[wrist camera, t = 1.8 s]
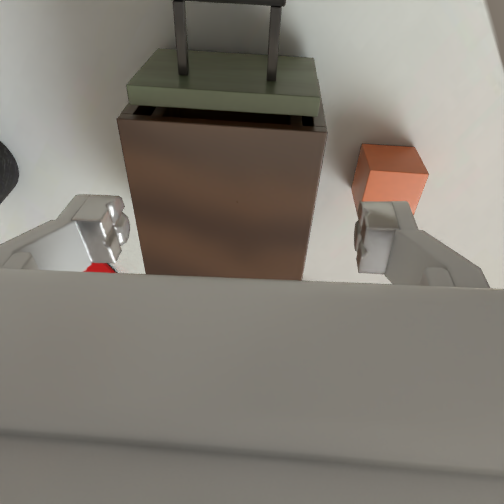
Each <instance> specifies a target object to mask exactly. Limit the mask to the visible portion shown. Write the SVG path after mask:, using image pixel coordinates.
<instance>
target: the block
mask: <svg viewBox="0 0 504 504" xmlns="http://www.w3.org/2000/svg"><path fill="white" fill-rule="evenodd" d="M428 175H429V173H428V171H427V169H426V167H425V166H424V164H423V162H422V160H421V158H420V156H419V154H418V152H417V150H416V148H415V147H404V146H389V145H374V144H362V146H361V150H360V154H359V158H358V163H357V167H356V171H355V175H354V179H353V184H352V188H351V189H352V194H353V198H354V202H355V207H356V211H358V206H359V202H360V201H407V202H408V203H409V205H410V208H411V211H412V214H413V215H414V213H415V210H416V207H417V205H418V202H419V199H420V197H421V194H422V191H423V189H424V186H425V183H426V181H427V178H428ZM357 216H358V213H357Z"/></svg>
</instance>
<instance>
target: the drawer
mask: <svg viewBox="0 0 504 504" xmlns="http://www.w3.org/2000/svg"><path fill="white" fill-rule="evenodd" d="M185 1H197V2H214V3H232V4H249V5H266V6H271V13H270V29H269V45H268V55H257V54H241V53H225V52H209V51H192V50H188V43H187V26H186V10H185ZM285 4H286V0H174V1H173V11H174V24H175V37H176V49H177V50H176V49H160V48H158V49H157V50H156V52H155V53H154V54H153V55H152V56H151V57H150V58H149V60H148V61H147V62H146V63H145V64H144V65H143V66H142V68H141V69H140V70H139V71H138V72H137V73H136V74H135V76H134V77H133V78H132V79H131V80H130V81H129V82H128V83H127V85H126V87H127V93H128V99H129V104H130V105H142V106H157V107H156V109H155V110H154V112H153V113H152V115H151V116H163V117H178V118H193V119H209V120H224V121H239V122H254V123H270V124H285V125H300V126H303V125H302V116H311V117H318V113H319V106H320V100H321V96H320V91H319V85H318V79H317V73H316V68H315V62H314V58H306V57H290V56H278V49H279V35H280V22H281V9H282V6H283V7H284V6H285Z"/></svg>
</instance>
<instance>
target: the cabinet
mask: <svg viewBox="0 0 504 504" xmlns="http://www.w3.org/2000/svg"><path fill="white" fill-rule="evenodd" d="M318 85H319V82H318ZM319 91H320V87H319ZM320 96H321V93H320ZM156 107H157V106H142V105H130V104H129V103H128V105H127V106H126V107H125V108H124V110H123V111H122V112H121V114H120V115H119V116H118V118H117V124H118V129H119V134H120V140H121V145H122V150H123V156H124V161H125V166H126V172H127V177H128V182H129V187H130V193H131V198H132V203H133V209H134V214H135V219H136V225H137V230H138V235H139V240H140V246H141V251H142V256H143V262H144V267H145V272H146V274H152V275H176V276H201V277H225V278H250V279H274V280H299V281H302V278H303V272H304V266H305V260H306V255H307V249H308V243H309V237H310V231H311V226H312V220H313V214H314V208H315V202H316V197H317V191H318V185H319V179H320V173H321V168H322V162H323V156H324V150H325V144H326V139H327V128H326V122H325V116H324V110H323V104H322V99H321V100H320V106H319V113H318V117H311V116H302V125H303V126H300V125H285V124H270V123H254V122H239V121H224V120H209V119H193V118H178V117H163V116H151V115H152V113H153V112H154V110H155V109H156Z"/></svg>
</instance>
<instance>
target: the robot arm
mask: <svg viewBox="0 0 504 504" xmlns="http://www.w3.org/2000/svg"><path fill="white" fill-rule="evenodd" d="M124 207H125V206H124V203H123V200H122V198H121V197H120V196H111V195H89V194H79V195H75V196H74V198H73V199H72V200H71V201H70V203H69V204H68V205H67V206H66V208H65V209H64V210H63V211H62V213H61V214H60V215H59V216H58V218H57V219H56V220H50V221H48V222H46V223H44V224H42V225H40V226H38V227H36V228H34V229H32V230H29V231H27V232H25V233H23V234H21V235H19V236H17V237H15V238H13V239H11V240H9V241H7V242H4V243H2V244H0V504H504V289H493V288H490V286H489V284H488V282H487V280H486V278H485V276H484V274H483V272H482V270H481V268H479V267H478V266H476V265H475V264H473V263H472V262H470V261H469V260H467V259H466V258H464V257H463V256H461V255H460V254H458V253H457V252H455V251H454V250H452V249H451V248H449V247H448V246H446V245H444V244H443V243H441V242H440V241H438V240H437V239H435V238H434V237H432V236H431V235H429V234H428V233H426V232H425V231H423V230H418V227H417V224H416V222H415V219H414V216H413V214H412V211H411V208H410V205H409V203H408V202H407V201H360V202H359V206H358V211H357V213H358V219H359V220H358V221H357V222H356V224H355V231H354V247H355V251H357V258H356V260H357V266H358V273H372V274H385V276H386V277H387V278H388V279H389V280H390V282H391V283H392V284H372V283H348V282H323V281H299V280H274V279H250V278H225V277H201V276H176V275H152V274H128V273H103V272H82V271H83V270H85V269H86V268H87V267H89V266H90V265H91V264H92V263H115V262H116V261H117V259H118V257H119V255H120V253H121V251H122V250H121V247H120V246H121V245H123V244H124V243H126V242H127V240H128V238H129V232H130V224H129V220H128V217H127V216H126V215H125V214H124V213H123V212H122V211H123V209H124Z"/></svg>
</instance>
